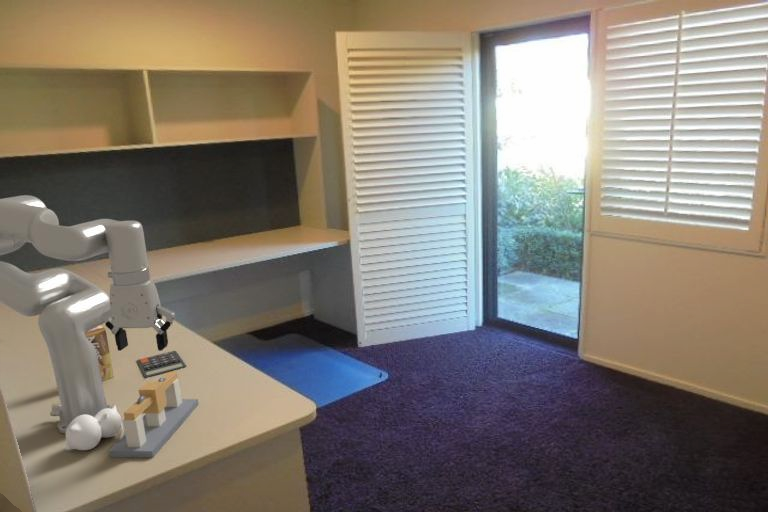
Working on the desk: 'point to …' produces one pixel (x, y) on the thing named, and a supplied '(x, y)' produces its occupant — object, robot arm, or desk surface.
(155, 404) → the tan bar with handles
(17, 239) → the robot arm
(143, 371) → the calculator
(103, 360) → the candy box
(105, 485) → the desk surface
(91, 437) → the cat figurine
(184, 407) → the display stand
